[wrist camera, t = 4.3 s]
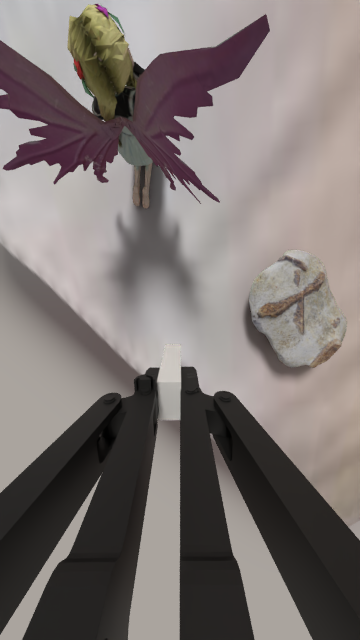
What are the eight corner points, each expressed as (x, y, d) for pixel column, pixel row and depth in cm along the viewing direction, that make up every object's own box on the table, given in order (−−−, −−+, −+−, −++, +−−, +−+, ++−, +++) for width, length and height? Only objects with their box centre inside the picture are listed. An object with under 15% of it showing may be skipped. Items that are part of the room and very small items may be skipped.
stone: (226, 291, 20) (236, 292, 16) (296, 240, 19) (321, 229, 16) (281, 370, 21) (299, 385, 18) (346, 326, 21) (378, 333, 17)
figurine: (217, 142, 17) (446, -731, 2) (204, 232, 19) (287, 66, 4) (76, 122, 17) (-680, -999, 2) (77, 215, 18) (-318, -24, 4)
